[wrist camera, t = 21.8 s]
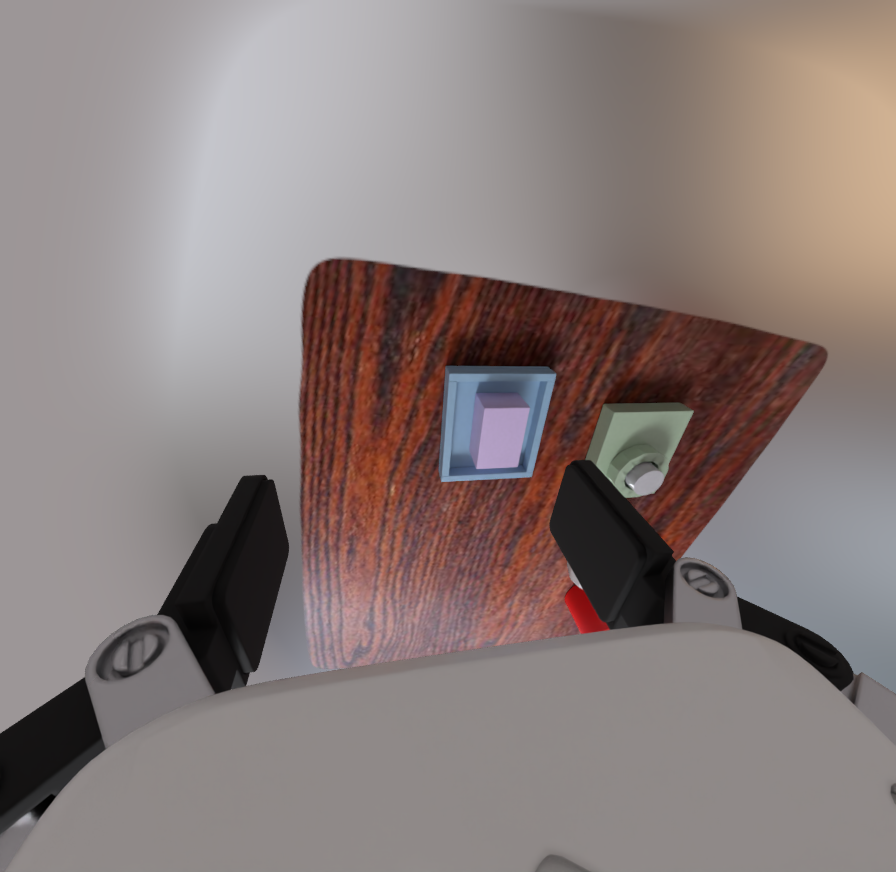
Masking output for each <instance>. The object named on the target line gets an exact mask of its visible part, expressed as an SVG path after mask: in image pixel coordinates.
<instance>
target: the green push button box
mask: <svg viewBox="0 0 896 872" xmlns="http://www.w3.org/2000/svg"><path fill="white" fill-rule="evenodd" d="M693 412H694V411H693V410H692V409H690V408H688V407H686V406H685V405H683V404H681V403H620V404H603V407H602V410H601V413H600V416H599V419H598V422H597V425H596V428H595V432H594V435H593V438H592V441H591V444H590V447H589V450H588V453H587V456H586V459H585V460H591V461H592V462H593V463H594V464H595V465H596V466H597V467H598V468H599V469H600V470H601V472H602V473H603V474H604V475H605V476H606V477H607V478H608V479H609V480H610V482H611V483H612V484H613V485H614V486H615V487H616V488H617V489H618V490H619V492H620V493H621V494H622V495H623V496H624V497H625V498H629V497H640V496H642V495H638V494H636V493H635V492H634V491H633V490H632V489H631V488H630V487H629V486H628V484H627V483H626V481H625V478H626V475H627V473H628V472H629V471H630V470H631V469H632V468H633V467H634V466H636V465H638V464H640V463H642V462H650V463H652V464H653V465H654V466H655V467H657V468H658V469H659V470H660V471H661V472H662V473H663V475H664V478H665V476H666V473H667V471H668V464H669V462H670V460H671V458H672V456H673V454H674V451H675V449H676V447H677V445H678V443H679V441H680V439H681V437H682V435H683V433H684V431H685V429H686V426H687V424H688V422H689V420H690V418H691V416H692V414H693ZM652 493H655V491H654V492H652Z"/></svg>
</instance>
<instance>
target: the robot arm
mask: <svg viewBox="0 0 896 872" xmlns="http://www.w3.org/2000/svg"><path fill="white" fill-rule="evenodd" d="M550 531H551V533H552V535H553V537H554V538H555V540H556V542H557V544H558V546H559V547H560V549H561V551H562V553H563V555H564V556H565V558H566V560H567V562H568V563H569V565H570V567H571V569H572V571H573V572H574V574H575V576H576V578H577V579H578V581H579V583H580V585H581V587H582V588H583V590H584V592H585V594H586V595H587V597H588V599H589V601H590V603H591V604H592V606H593V608H594V610H595V611H596V613H597V615H598V617H599V618H600V620H601V621H603V622H606V624H607V625H608V627H609V629H610V630H606V631H599V632H592V633H585V634H578V635H570V636H563V637H556V638H549V639H542V640H535V641H528V642H521V643H514V644H507V645H500V646H493V647H486V648H479V649H473V650H466V651H459V652H452V653H445V654H438V655H432V656H425V657H418V658H412V659H405V660H399V661H392V662H385V663H379V664H372V665H365V666H359V667H352V668H346V669H339V670H333V671H327V672H321V673H315V674H309V675H303V676H297V677H291V678H285V679H280V680H273V681H269V682H264V683H259V684H255V685H250V686H246V684H247V681H248V677H249V673H250V672H255V671H256V670H257V668H258V665H259V663H260V659H261V655H262V651H263V648H264V644H265V640H266V636H267V633H268V629H269V625H270V621H271V618H272V614H273V610H274V606H275V603H276V599H277V595H278V591H279V588H280V584H281V580H282V576H283V573H284V569H285V565H286V561H287V558H288V553H289V543H288V538H287V534H286V530H285V526H284V522H283V517H282V513H281V509H280V505H279V500H278V496H277V492H276V488H275V484H274V481H273V480H268V479H267V477H266V476H265V475H254V476H243V477H242V478H241V480H240V481H239V483H238V485H237V487H236V489H235V491H234V493H233V494H232V497H231V498H230V500H229V502H228V504H227V506H226V508H225V509H224V511H223V513H222V515H221V517H220V519H219V521H218V523H217V524H210V525H209V526H208V527H207V528H206V529H205V531H204V532H203V534H202V536H201V538H200V540H199V541H198V543H197V545H196V547H195V548H194V550H193V552H192V554H191V556H190V557H189V559H188V561H187V563H186V565H185V566H184V568H183V570H182V572H181V573H180V575H179V577H178V579H177V580H176V582H175V584H174V586H173V588H172V590H171V591H170V593H169V595H168V597H167V598H166V600H165V602H164V604H163V606H162V608H161V609H160V611H159V613H158V614H157V615H151V616H147V617H143V618H139V619H137V620H135V621H132V622H130V623H128V624H126V625H124V626H123V627H121V628H120V629H118V630H117V631H115V632H114V633H112V634H111V635H110V636H109V637H107V638H106V639H105V640H104V641H103V642H102V643H101V644H100V645H99V646H98V648H97V649H96V650H95V651H94V653H93V654H92V655H91V657H90V659H89V661H88V664H87V666H86V669H85V678H83V679H81V680H80V681H78V682H77V683H75V684H74V685H73V686H71V687H69V688H68V689H66V690H65V691H63V692H62V693H60V694H59V695H57V696H56V697H54V698H53V699H51V700H50V701H48V702H47V703H45V704H44V705H43V706H41V707H39V708H38V709H36V710H35V711H33V712H32V713H30V714H29V715H27V716H26V717H24V718H23V719H21V720H20V721H18V722H17V723H15V724H14V725H12V726H11V727H9V728H8V729H6V730H5V731H3V732H2V733H0V872H896V694H895V693H894V692H892V691H890V690H889V689H887V688H886V687H884V686H883V685H881V684H880V683H878V682H876V681H875V680H873V679H872V678H870V677H869V676H867V675H865V674H864V673H862V672H861V673H860V674H859V675H855V674H854V673H853V671H852V668H851V667H850V664H849V663H848V661H847V660H846V659H845V658H844V656H843V655H842V654H841V653H840V652H839V651H838V650H837V649H836V648H835V647H834V646H833V645H832V644H830V643H829V642H828V641H826V640H825V639H823V638H822V637H821V636H819V635H817V634H815V633H814V632H812V631H810V630H808V629H806V628H804V627H802V626H800V625H797V624H795V623H793V622H791V621H789V620H787V619H785V618H782V617H780V616H778V615H776V614H774V613H772V612H769V611H767V610H765V609H763V608H761V607H759V606H757V605H754V604H752V603H750V602H748V601H746V600H743V599H741V598H739V597H737V594H736V591H735V588H734V585H733V584H732V583H731V581H730V580H729V579H728V578H727V577H726V576H725V575H724V574H723V573H722V572H721V571H720V570H718V569H717V568H715V567H714V566H712V565H710V564H708V563H706V562H704V561H701V560H698V559H695V558H687V557H686V558H680V559H678V560H677V561H676V560H675V559H674V558H673V557H672V554H673V552H674V551H673V550H672V549H671V548H670V547H669V546H668V545H667V544H666V543H665V541H664V540H663V539H662V538H661V537H660V536H659V535H658V534H657V533H656V532H655V530H654V529H653V528H652V527H651V526H650V525H649V524H648V523H647V522H646V520H645V519H644V518H643V517H642V516H641V515H640V514H639V513H638V512H637V510H636V509H635V508H634V507H633V506H632V505H631V504H630V503H629V502H628V500H627V499H626V498H625V497H624V496H623V495H622V494H621V493H620V492H619V490H618V489H617V488H616V487H615V486H614V485H613V484H612V483H611V482H610V480H609V479H608V478H607V477H606V476H605V475H604V474H603V473H602V472H601V470H600V469H599V468H598V467H597V466H596V465H595V464H594V463H593V462H592V461H591V460H576V461H572V462H571V464H570V465H568V466H567V467H566V469H565V473H564V476H563V479H562V483H561V486H560V489H559V493H558V496H557V499H556V503H555V506H554V509H553V513H552V516H551V520H550ZM231 689H232V690H231Z"/></svg>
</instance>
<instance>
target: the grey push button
mask: <svg viewBox="0 0 896 872" xmlns="http://www.w3.org/2000/svg"><path fill="white" fill-rule="evenodd" d="M663 480H664V475H663V473H662V472H661V471H660V470H659V469H658V468H657V467H655V466H654V465H653V464H652V463H650V462H642V463H640V464H638V465H636V466H634V467H633V468H632V469H631V470H630V471H629V472H628V473H627V475H626V478H625V481H626V483H627V484H628V486H629V487H630V488H631V489H632V490H633V491H634V492H635V493H636V494H638V495H648V494H650V493H652V492H654V491H656V490H657V489H658V488H659V487H660V486H661V484H662V483H663Z"/></svg>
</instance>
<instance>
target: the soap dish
mask: <svg viewBox="0 0 896 872" xmlns="http://www.w3.org/2000/svg"><path fill="white" fill-rule="evenodd" d="M555 378H556V373H555V372H554V371H552V370H551V369H550V368H549V367H541V366H446V369H445V384H444V398H443V413H442V428H441V443H440V457H439V474H440V478H441V482H448V481H466V480H485V479H503V478H521V477H532V473H533V469H534V465H535V461H536V457H537V453H538V448H539V444H540V440H541V436H542V432H543V428H544V423H545V419H546V415H547V411H548V407H549V403H550V398H551V394H552V390H553V386H554V381H555ZM476 393H518V394H519V395H520V396H521V397H522V398H523V400H524V401H525V402H526V403H527V404H528V406H529V407H530V410H529V415H528V420H527V425H526V429H525V434H524V439H523V444H522V449H521V454H520V458H519V463H518V467H509V468H490V469H476V466H475V464H474V461H473V459H472V457H471V454H470V452H469V447H470V438H471V430H472V421H473V412H474V404H475V395H476Z"/></svg>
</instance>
